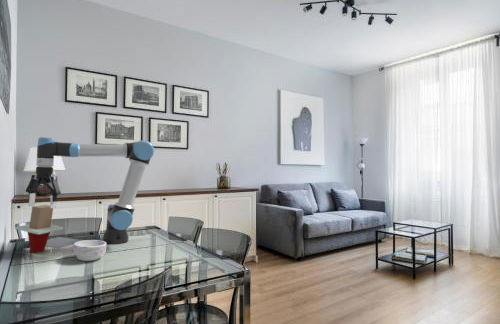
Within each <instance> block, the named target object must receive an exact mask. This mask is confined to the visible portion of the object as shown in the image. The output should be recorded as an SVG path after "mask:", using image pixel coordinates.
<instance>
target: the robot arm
mask: <svg viewBox="0 0 500 324" xmlns="http://www.w3.org/2000/svg"><path fill="white" fill-rule="evenodd" d="M36 145H37V151H36V163H35V165H36V167H35V174H32V175H31V178H30V180H29V182H28V185H27V186H26V189H25V192H26V193H28V207H32V206H36V191H37V189H38V188H39V187H40V186H41V185H45V186H46V187H47V188H48V190H49V192H50V193H51V195H50V200H49V201H50V202H49V206H50V208H53V209H55V208H56V205H57V201H58V196H59V195H61V194H62V191H61V189H60V186H59V183H58V179H57V178H58V177H57V176H55V175H54V176H52V175H53V173H54V168H53V166H54V158H55V157H66V158H78V157H79V158H80V157H85V158H86V157H90V158H91V157H94V158H95V157H98V158H99V157H118V158H120V157H121V158H122V157H123V158H124V159H128V161H129V162H130V163H129V167H128V170H127V173H126V176H125V179H124V182H123V185H122V189H121V191H120V195H119V198H118V200H117V202H115V203H114V204H108V205H107V215H106V216H107V217H106V227H105V230H104V233H103V236H102V237H101V238H102V239H101V241H104V242H106V243H107V245H109V244H110V245H114V244H115V245H119V244H124V243H123V242H125V243H127V242H126V241H128V242H129V234H128V230H127V229H128V228H129V227H131V225H132V223H133V219H134V217H133V215H134V212H135V210H136V209H135V206H134V203H135V199H136V196H137V194H138V189H140V188H139V187H140V183H141V181H142V178H143V175H144V171H145V168H146V167H147V166H149V164H150V161H151V158H152V157H154V154H155V148H154V146H153V144H152V143H151V142H150V141H147V140H138V141H133V142H125V143H124V144H123V143H122V144H120V143H119V144H116V143H115V144H112V143H111V144H106V143H105V144H104V143H97V144H96V143H75V142H58V141H56V140H55V138H53V137H45V136H44V137H43V136H42V137H41V136H40V137H39V138H38V139H37V144H36Z"/></svg>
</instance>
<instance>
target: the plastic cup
mask: <svg viewBox="0 0 500 324" xmlns="http://www.w3.org/2000/svg"><path fill="white" fill-rule="evenodd" d="M50 233H51V232H48V233H43V234H39V235H38V234H34V233H30V232H27V234H28V244H29V248H30V249H29V250H30V253H43V252H45V249H46V247H45V246H46V243H47V240H48V239H49V236H50Z"/></svg>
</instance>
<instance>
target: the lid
mask: <svg viewBox="0 0 500 324" xmlns="http://www.w3.org/2000/svg"><path fill="white" fill-rule="evenodd" d="M53 212H54V208H50V204H49V205H48V204H44V205H43V204H42V205H35V206H31V213H30V219H29V224H24V225H18V226H15V227H14V229H15V230H17V231H22V232H25V233H26V232H27V233H28V232H30V233H34V234H38V235H39V234H43V233H48V232H50V233H51V232H57V231H61V230H64V227H63V226H59V225H55V224H52V218H53Z"/></svg>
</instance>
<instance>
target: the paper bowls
mask: <svg viewBox="0 0 500 324" xmlns="http://www.w3.org/2000/svg"><path fill="white" fill-rule="evenodd" d="M82 240H83V241H78V242H75V243H74V244H73V246H72V254H73V256H75V257H76V258H77V260H79V261H82V262H92V261H96V260H99V259H100V258H101V257H102V255H105V253H106V252H107V245H108V243H106V242H104V241H102V240H100V239H85V240H84V239H82Z"/></svg>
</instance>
